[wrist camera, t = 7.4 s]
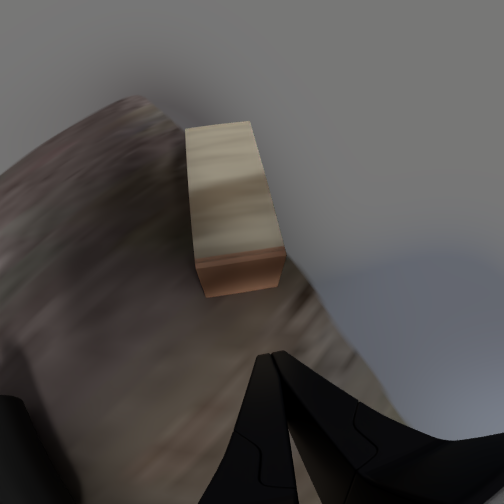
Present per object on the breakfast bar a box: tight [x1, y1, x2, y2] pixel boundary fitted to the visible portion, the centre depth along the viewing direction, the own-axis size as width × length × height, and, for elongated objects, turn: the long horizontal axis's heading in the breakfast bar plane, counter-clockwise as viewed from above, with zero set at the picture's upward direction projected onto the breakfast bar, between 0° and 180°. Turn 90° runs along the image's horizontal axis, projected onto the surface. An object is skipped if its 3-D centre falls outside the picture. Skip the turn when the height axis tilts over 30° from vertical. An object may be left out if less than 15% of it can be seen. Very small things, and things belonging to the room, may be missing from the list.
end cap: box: [0, 395, 76, 504], centre depth 10 cm, size 10×7×7 cm
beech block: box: [185, 121, 287, 298], centre depth 21 cm, size 5×5×12 cm
